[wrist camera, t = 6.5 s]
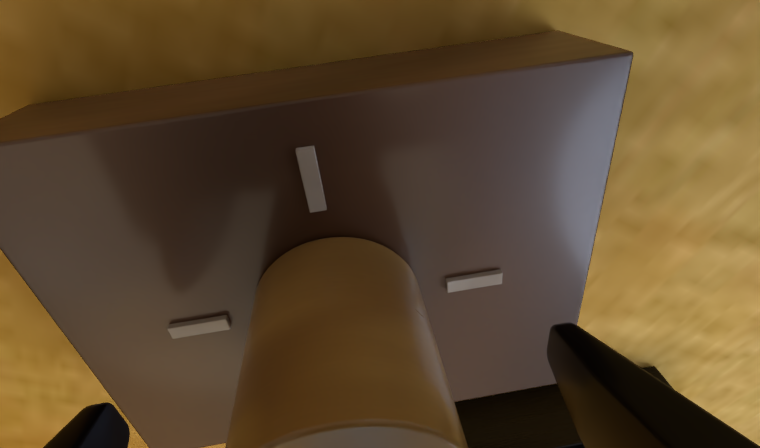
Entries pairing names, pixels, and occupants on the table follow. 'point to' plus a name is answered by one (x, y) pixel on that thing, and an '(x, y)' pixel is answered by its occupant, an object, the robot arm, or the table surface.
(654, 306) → the table surface
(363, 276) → the volume knob
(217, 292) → the console
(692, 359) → the table surface
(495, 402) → the switch block
